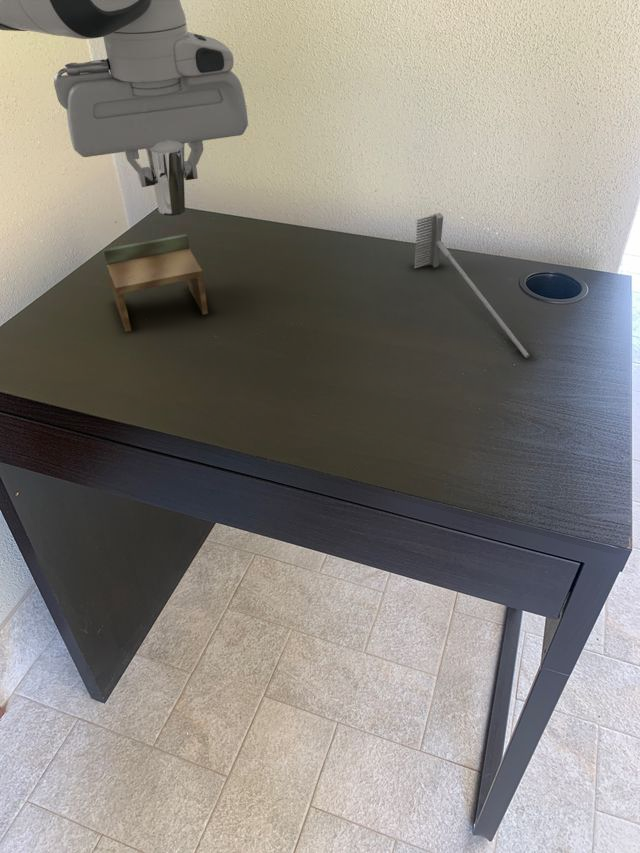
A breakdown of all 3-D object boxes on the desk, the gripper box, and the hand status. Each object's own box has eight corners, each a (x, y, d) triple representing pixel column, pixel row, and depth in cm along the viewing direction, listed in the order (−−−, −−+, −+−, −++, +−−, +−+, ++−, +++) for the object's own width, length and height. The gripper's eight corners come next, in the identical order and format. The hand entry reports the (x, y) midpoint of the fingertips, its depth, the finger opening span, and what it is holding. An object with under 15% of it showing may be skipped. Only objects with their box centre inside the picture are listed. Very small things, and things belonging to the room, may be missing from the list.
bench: (125, 331, 96) (112, 274, 90) (116, 304, 102) (102, 249, 96) (208, 313, 100) (200, 257, 94) (194, 288, 105) (186, 233, 99)
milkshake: (201, 205, 86) (194, 122, 80) (176, 221, 83) (167, 135, 76) (171, 198, 88) (162, 116, 81) (145, 213, 84) (134, 128, 78)
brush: (499, 388, 93) (510, 339, 86) (414, 268, 109) (416, 218, 102) (524, 379, 94) (537, 330, 87) (435, 261, 110) (439, 212, 103)
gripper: (52, 72, 69) (85, 205, 78) (246, 51, 74) (256, 177, 83) (46, 58, 73) (78, 185, 82) (230, 39, 79) (241, 160, 88)
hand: (169, 181), depth 83 cm, fingers closed on milkshake, 4 cm apart
